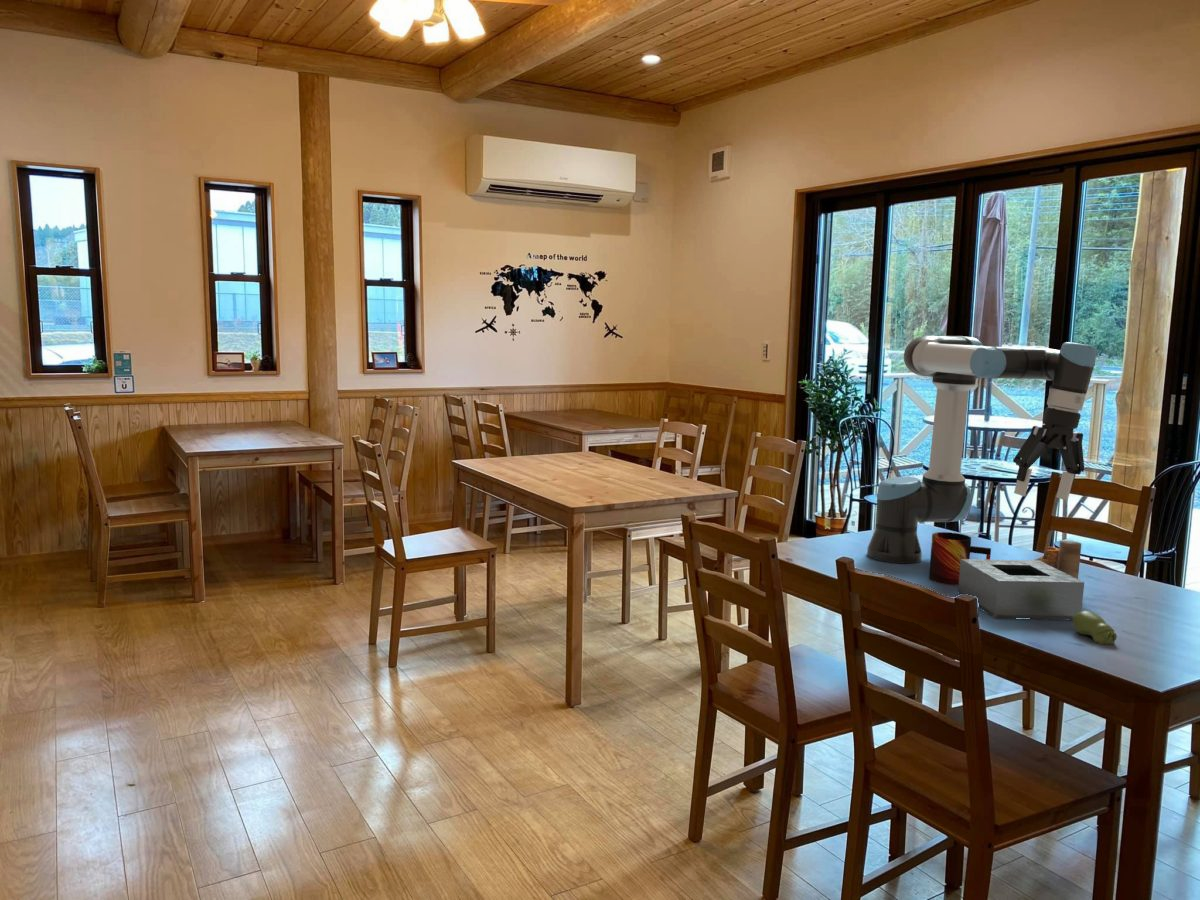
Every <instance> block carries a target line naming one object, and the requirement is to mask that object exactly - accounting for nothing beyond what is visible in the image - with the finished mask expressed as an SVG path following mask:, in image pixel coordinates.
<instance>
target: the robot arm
mask: <svg viewBox="0 0 1200 900" xmlns="http://www.w3.org/2000/svg"><path fill="white" fill-rule="evenodd" d="M1097 353H1098V349H1097V348H1096V347H1095V346H1094V345H1090V344H1082V343H1078V342H1071V341H1068V342H1067V341H1066V342H1063V343H1062V345H1061V347H1060V349H1056V348H1055V349H1054V348H1048V347H1046V346H1032V347H1007V346H991V345H989V346H988V345H983V343H982V341H980V340H979V339H978V338H976V337H971V336H963V335H922V336H918V337H916V338H914V339H913V340H911V341H910V342H909V343H908V344H907V345H906V347H905V348H904V353H903V362H904V364H905V367H906V368H907V369H908V370H909V371H910V372H911V373H913V374H915V375H917V376H920V377H921V376H922V377H928V378H929V377H931V378H932V379H931V380H932V381H931V383H932V384H933V385H934V387H935V388H936V395H935V397H936V398H935V405H934V406H935V407H934V418H933V424H932V425H933V426H932V434H931V435H932V436H931V444H930V455H929V463H928V464H929V466H928V469H927V470H926V471H925V472H924V473H922V478H921V479H922V480H921V479H920V478H918V477H914V476H894V477H887V478H885V479H883V480H881V481H880V482H879V484H878V487H877V492H876V493H877V494H876V512H875V525H874V531H873V533H872V535H871V536H872V537H871V539H870V541H869V543H868V546H867V552H866V555H867V556H868V557H869V558H871V559H874V560H877V561H880V562H886V563H894V564H915V563H919V562H921V561H922V558H923V557H922V556H923V555H922V554H923V552H922V548H921V544H920V540H919V536H918V526H919V525H918V523H950V522H959V521H961V520H963V518H965V517H966V516H967V515H968V514H969V512H970V511H971V507H972V504H973V494H972V493H971V492H972V490H971V487H970V486H969V485H968V483H966V477H964V475H963V474H962V472H961V471H962V470H961V469H962V468H961V467H962V459H963V451H964V450H963V449H964V440H965V431H966V430H965V429H966V424H967V423H966V421H967V412H968V402H969V393H970V390H971V389H972V388H974V387H975V386H976V382H977V379H978V378H980V379H981V378H982V379H986V380H987V379H989V380H991V379H992V380H993V379H1015V380H1016V379H1017V380H1045V381H1051V382H1052V384H1051V386H1050V390H1049V394H1048V398H1047V401H1046V405H1047V406H1048V407H1046V408H1045V410H1044V414H1043V417H1042V423H1044V426H1043V427H1041V426H1038V425H1033V426H1032V429H1031V431H1030V433H1029V435H1028V437H1027V439H1026V440H1025V441H1024V443H1023V445H1022V446H1021V447H1020V449H1019V450H1018V452H1017V454H1015V457H1014V458H1013V460H1012V461H1013V463H1015V465H1016V466H1018V470H1017V474H1016V484H1015V487H1014V491H1013V494H1015V495H1019V496H1021V497H1026V495H1027V491H1028V487H1029V484H1030V479H1031V475H1032V471H1033V469H1032V468H1031V467H1032V466H1033V465H1034V464H1035V463H1036V462H1037V460H1038V459H1040V458H1041V456H1042V455H1043V454H1044V453H1045V452H1047V450H1050V449H1057V450H1058V451H1059V453H1060V455H1061V459H1062V462H1063V464H1064V467H1065V470H1066V471H1065V470H1063V471H1062V474H1061V478H1060V481H1059V486H1058V488H1057V493H1056V497H1055V498H1058V499H1061V500H1063V501H1068V500H1069V497H1070V493H1071V489H1072V487H1073V485H1074V483H1075V479H1076V478H1075V477H1076V475H1081V473H1083V472H1084V471H1085V460H1084V452H1083V439H1084V434H1083V433H1082V432H1080V431H1075V429H1078V427H1079V424H1080V420H1081V413H1079V412H1081V411H1082V410H1083V408H1084V404H1085V401H1086V395H1087V393H1088V390H1089V386H1090V382H1091V379H1092V375H1093V372H1094V371H1093V370H1094V368H1095V366H1096V358H1097V355H1098V354H1097Z"/></svg>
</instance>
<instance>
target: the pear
mask: <svg viewBox="0 0 1200 900" xmlns="http://www.w3.org/2000/svg"><path fill="white" fill-rule="evenodd" d="M1072 626H1073V628H1074V630H1075V631H1076V632H1077V633H1079V634H1080V635H1083V636H1091V637H1092V641H1094V642H1095V643H1098V644H1099V645H1114V644H1115V641H1116V640H1117V636H1118V635H1117V633H1116V632H1115V629H1114V628H1113V627H1112V626H1110V625H1109V624H1108V623H1106V620H1104V619H1103V618H1102V617H1101V616H1100V615H1098V614H1096V613H1095V612H1092V611H1089V610H1082V611H1080V612H1078V613H1077V614H1076V615H1075V616H1074V618H1073V620H1072Z"/></svg>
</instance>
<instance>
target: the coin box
mask: <svg viewBox="0 0 1200 900" xmlns="http://www.w3.org/2000/svg"><path fill="white" fill-rule="evenodd" d="M957 587H958V588H957V591H958V592H959V594H968V595H972V596H976V597H977V598H978V603H979V609H980V610H981V609H982V610H981V611H983V610H984V611H985V612H984V611H983V612H984V613H986V612H987V613H988V614H987V613H986V614H987V615H989V616H990V617H992V618H993V619H995V620H1017V619H1016V618H1030V619H1029V620H1031V619H1069V620H1068V621H1073V618H1074V616H1075V615H1076V614H1077V613H1078V612H1080V611H1083V609H1082V608H1083V601H1084V600H1083V599H1084V590H1085V589H1084V588H1085V582H1084V581H1082V580H1081V579H1079V578H1078V579H1076V578H1074V577H1072V576H1070V575H1068V574H1066V573H1064V572H1062V571H1060V570H1058V569H1056V568H1053V567H1051V566H1049V565H1047V564H1045V563H1043V562H1041V561H1036V560H1035V559H1033V560H1030V559H1029V560H1027V559H1025V560H1024V559H1023V560H1022V559H1021V560H1020V559H990V560H986V558H984V559H978V558H977V559H975V558H970V559H961V562H960V575H959V585H958V586H957ZM958 592H957V593H958ZM959 594H958V595H959Z"/></svg>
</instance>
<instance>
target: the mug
mask: <svg viewBox="0 0 1200 900" xmlns="http://www.w3.org/2000/svg"><path fill="white" fill-rule="evenodd" d="M931 535H932V536H931V545H930V546H931V547H930V548H931V549H930V559H929V563H930V564H929V572H928V573H929V574H928V579H929V580H930V581H931V582H934V583H938V584H941V585H942V584H943V585H947V586H959V575H960V562H961V559H971V558H970V556H971V554H972V553H973V554H979V555H985V559H986V560H991V555H992V548H991V547H983V546H973V545H972V537H971V536H969V535H966V534H963V533H956V532H946V531H945V532H942V531H940V532H933V533H932V534H931Z"/></svg>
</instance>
